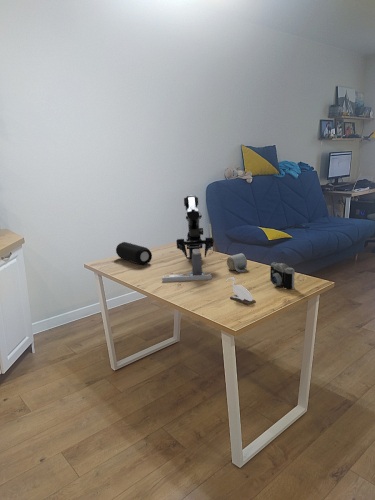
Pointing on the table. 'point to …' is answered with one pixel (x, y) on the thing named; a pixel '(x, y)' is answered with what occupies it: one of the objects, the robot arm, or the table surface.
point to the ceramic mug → (237, 262)
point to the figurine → (241, 294)
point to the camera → (282, 275)
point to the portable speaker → (134, 253)
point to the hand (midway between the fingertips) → (196, 257)
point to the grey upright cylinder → (196, 262)
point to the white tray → (186, 277)
